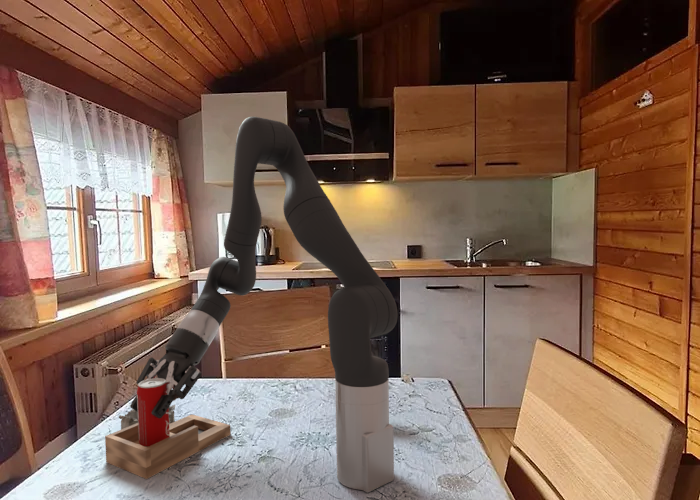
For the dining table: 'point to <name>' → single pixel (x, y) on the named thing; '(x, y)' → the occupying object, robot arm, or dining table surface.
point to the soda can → (147, 423)
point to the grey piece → (132, 417)
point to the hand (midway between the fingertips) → (145, 412)
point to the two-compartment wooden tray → (162, 445)
